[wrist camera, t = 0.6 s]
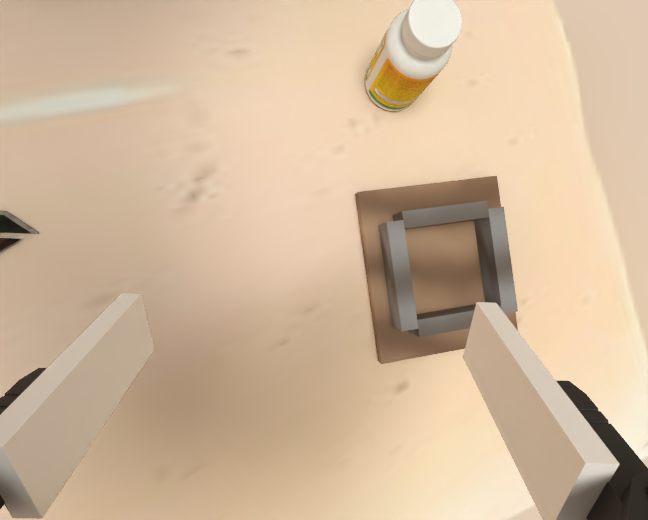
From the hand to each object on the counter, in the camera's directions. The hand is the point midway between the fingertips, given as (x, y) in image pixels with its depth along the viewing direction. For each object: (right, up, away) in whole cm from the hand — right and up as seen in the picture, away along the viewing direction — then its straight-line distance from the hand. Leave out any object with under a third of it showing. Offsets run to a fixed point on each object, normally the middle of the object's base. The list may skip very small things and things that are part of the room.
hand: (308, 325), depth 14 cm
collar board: (+12, +2, +21) cm, 24 cm away
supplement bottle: (+7, +19, +20) cm, 29 cm away
